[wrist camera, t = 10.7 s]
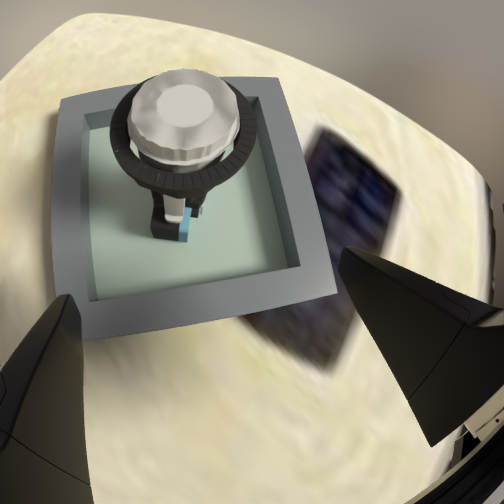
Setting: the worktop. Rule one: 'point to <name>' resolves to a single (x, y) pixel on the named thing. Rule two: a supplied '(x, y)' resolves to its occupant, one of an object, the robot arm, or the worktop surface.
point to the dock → (200, 230)
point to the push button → (181, 142)
